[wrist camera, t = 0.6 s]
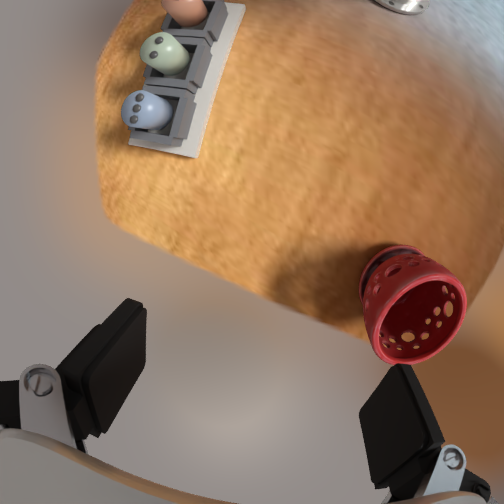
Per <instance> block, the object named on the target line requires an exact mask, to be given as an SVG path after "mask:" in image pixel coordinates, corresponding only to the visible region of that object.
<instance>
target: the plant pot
mask: <svg viewBox="0 0 504 504" xmlns="http://www.w3.org/2000/svg"><path fill="white" fill-rule="evenodd" d="M445 286H446V288H447V290H448V294H447V293H446V291H445ZM454 295H455V298H454ZM359 296H360V300H361V302H362V304H363V315H364V321H365V326H366V330H367V334H368V337H369V340H370V343H371V345H372V348H373V350H374V352H375V353H376V355H377V356H378V357H379V358H380V359H381V360H383V361H384V362H386V363H389V364H393V365H395V364H397V363H402V364H409V365H412V364H416V363H419V362H422V361H424V360H426V359H428V358H430V357H432V356H434V355H435V354H437V353H438V352H439V351H441V350H442V349H443V348H444V347H445V346H446V345H447V344H448V343H449V342H450V341H451V340H452V339H453V337H454V336H455V335H456V333H457V332H458V330H459V328H460V326H461V324H462V322H463V319H464V317H465V313H466V307H467V299H466V293H465V290H464V287H463V286H462V284H461V283H460V281H459V280H458V279H457V278H456V277H455V276H454V275H453V274H452V273H451V272H450V271H449V270H448V269H446V268H445V267H444V266H442V265H441V264H439V263H437V262H436V261H434V260H432V259H430V258H428V257H425V255H424V254H423V253H422V252H421V251H420V250H418V249H417V248H415V247H412V246H409V245H395V246H391V247H388V248H385V249H383V250H382V251H380V252H379V253H377V254H376V255H375V256H374V257H373V258H372V259H371V260H370V261H369V262H368V263H367V265H366V266H365V268H364V270H363V272H362V275H361V278H360V282H359ZM449 301H451V303H452V304H453V313H452V315H451V316H450V317H447V315H446V306H447V304H448V302H449ZM438 307H440V309H441V312H440V314H439V315H438V316H436V315H435V310H436V309H437V308H438ZM429 318H430V319H431V322H430V324H428V325H427V324H426V320H427V319H429ZM440 321H442V325H441V326H440V327H439V328H438V327H437V325H438V323H439V322H440ZM406 332H410V333H413V334H414V336H415V339H414V340H412V341H410V342H406V341H404V340H402V338H401V335H402V334H403V333H406ZM426 333H429V337H428V338H427V339H424V340H422V336H423V335H424V334H426ZM379 334H380V335H381V337H380V336H379ZM389 338H392V339H394V340H395V341H396V343H392V342H390V341H389ZM382 343H383V344H385V345H386V346H387V348H386V347H384V346H383V344H382ZM414 346H419V348H418V349H414V348H413V347H414ZM397 348H401V349H402V350H398V349H397Z"/></svg>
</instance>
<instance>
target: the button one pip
mask: <svg viewBox="0 0 504 504" xmlns="http://www.w3.org/2000/svg"><path fill="white" fill-rule="evenodd" d="M161 3H162V6H163V8H164V9H165V10H166V11H167V12H168V13H169V14H170V15H171V16H172V17H173V19H174V20H175V21H176V22H177V23H178V24H179V25H180V26H182V27H194V26H197V25H199V24H200V23H202V22H203V21H204V20H205V19H206V17H207V15H208V10H207V8H206V6H205V5H204V3H203V1H202V0H162V2H161Z"/></svg>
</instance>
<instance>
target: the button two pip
mask: <svg viewBox="0 0 504 504" xmlns="http://www.w3.org/2000/svg"><path fill="white" fill-rule="evenodd" d="M140 57H141V59H142V61H143V62H145V63H146V64H148V65H150V66H151V67H153V68H155V69H156V70H158V71H160V72H161V73H163V74H165V75H168V76H173V75H177V74H179V73H181V72H182V71H183V70H185V68H186V67H187V66H188V64H189V61H190V55H189V53H188V51H187V50H186V49H185V48H184V47H183V46H182V45H181V44H180V43H179V42H178V41H177V40H176V39H175V38H174V37H173V36H172V35H171V34H169V33H166V32H160V33H156V34H153V35H152V36H150V37H149V38H147V39H146V40H145V42H144V43H143V44H142V46H141V49H140Z"/></svg>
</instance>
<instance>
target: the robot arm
mask: <svg viewBox="0 0 504 504" xmlns="http://www.w3.org/2000/svg"><path fill="white" fill-rule="evenodd" d="M375 1H376V2H378V3H379V4H381V5H383V6H384V7H386V8H389V9H391V10H393V11H396V12H399V13H403V14H408V15H417V14H420V13H422V12H424V11H425V10H426V9H427V8H428V7H429V4H430V0H375ZM146 317H147V310H146V308H143V304H142V303H141V302H138V301H135V300H132V299H130V298H127V299H125V300H124V301H123V302H122V303H121V304H120V305H119V306H118V307H117V308H116V309H115V311H113V313H112V314H111V315H110V316H109V317H108V318H107V319H106V320H105V321H104V322H103V323H102V324H101V325H100V324H98V325H96V326H95V327H94V328H93V329H92V330H91V331H90V332H89V333H88V334H87V335H86V336H85V337H84V338H83V339H82V340H81V341H80V342H79V344H78V345H77V346H76V347H75V348H74V349H73V350H72V351H71V352H70V353H69V355H67V357H66V358H65V359H64V360H63V361H62V362H61V363H60V364H59V365H58V367H57V368H56V369H53V368H52V367H50V366H48V365H44V364H36V365H32V366H29V367H28V368H26V369H25V370H24V371H23V372H22V374H21V376H20V380H14V381H0V504H237V503H231V502H225V501H220V500H215V499H211V498H206V497H202V496H198V495H194V494H190V493H186V492H183V491H179V490H176V489H173V488H169V487H166V486H163V485H160V484H157V483H154V482H151V481H149V480H146V479H143V478H141V477H138V476H135V475H133V474H130V473H128V472H125V471H123V470H120V469H118V468H116V467H113V466H111V465H109V464H107V463H105V462H103V461H101V460H99V459H96V458H94V457H92V456H90V455H88V452H87V449H86V445H85V442H84V440H85V439H86V438H87V437H88V435H89V434H91V435H93V436H95V437H97V438H98V437H99V436H100V434H101V432H102V433H104V434H105V433H106V432H107V431H108V429H109V427H110V426H111V424H112V422H113V420H114V419H115V417H116V415H117V414H118V412H119V410H120V408H121V407H122V405H123V403H124V401H125V399H126V398H127V396H128V394H129V393H130V391H131V389H132V388H133V386H134V384H135V382H136V381H137V379H138V377H139V376H140V374H141V372H142V371H143V369H144V366H145V362H146ZM359 419H360V424H361V428H362V433H363V438H364V443H365V448H366V453H367V459H368V465H369V470H370V476H371V481H372V482H373V483H374V485H375V489H382V488H387V487H388V486H389V488H390V491H389V492H388V494H387V496H386V497H385V499H384V500H383V502H382V503H381V504H498V503H497V501H496V500H495V499H494V498H493V497H492V496H491V497H490V494H491V492H490V486H489V484H488V483H487V482H486V481H485V480H483V479H481V478H480V477H478V476H477V475H475V474H473V473H472V472H470V471H468V470H467V469H465V467H466V457H465V455H464V453H463V452H462V450H461V449H460V448H458V447H457V446H455V445H446V446H444V447H443V448H442V449H441V445H442V444H443V443H444V442H445V440H444V437H443V435H442V432H441V430H440V427H439V425H438V423H437V420H436V418H435V416H434V414H433V411H432V409H431V406H430V404H429V402H428V400H427V398H426V396H425V393H424V391H423V389H422V387H421V385H420V383H419V381H418V379H417V377H416V375H415V373H414V371H413V369H412V367H411V365H409V364H402V363H397V364H395V365H394V366H392V367H391V368H390V369H389V371H388V372H387V374H386V375H385V377H384V378H383V379H382V381H381V382H380V384H379V385H378V387H377V388H376V390H375V391H374V392H373V393H372V395H371V396H370V397H369V399H368V400H367V401H366V403H365V404H364V405H363V407H362V408H361V409H360V412H359Z"/></svg>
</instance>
